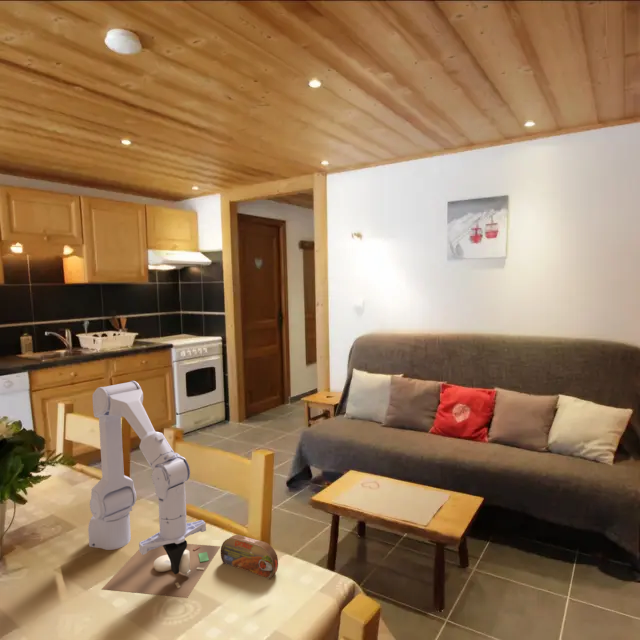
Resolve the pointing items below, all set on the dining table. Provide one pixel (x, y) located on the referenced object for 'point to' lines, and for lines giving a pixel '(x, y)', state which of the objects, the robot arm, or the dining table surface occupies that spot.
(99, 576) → the dining table surface
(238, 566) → the tin
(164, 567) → the peg
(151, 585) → the board
